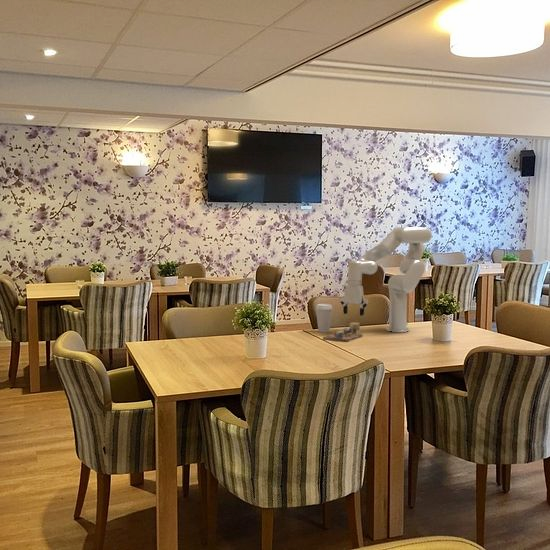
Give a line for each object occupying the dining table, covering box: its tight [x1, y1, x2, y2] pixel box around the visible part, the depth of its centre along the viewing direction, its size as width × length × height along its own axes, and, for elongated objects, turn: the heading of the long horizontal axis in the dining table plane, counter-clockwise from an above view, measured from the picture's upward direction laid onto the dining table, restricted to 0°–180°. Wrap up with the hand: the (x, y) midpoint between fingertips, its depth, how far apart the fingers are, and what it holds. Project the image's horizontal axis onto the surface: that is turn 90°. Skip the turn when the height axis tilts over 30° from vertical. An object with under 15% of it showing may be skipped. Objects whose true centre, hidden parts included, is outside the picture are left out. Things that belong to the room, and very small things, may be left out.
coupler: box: [349, 321, 361, 334], centre depth 341 cm, size 4×5×6 cm
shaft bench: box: [322, 326, 363, 343], centre depth 329 cm, size 18×14×4 cm
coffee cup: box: [315, 303, 333, 333], centre depth 349 cm, size 10×10×15 cm
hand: (353, 314), depth 340 cm, fingers open, 9 cm apart
